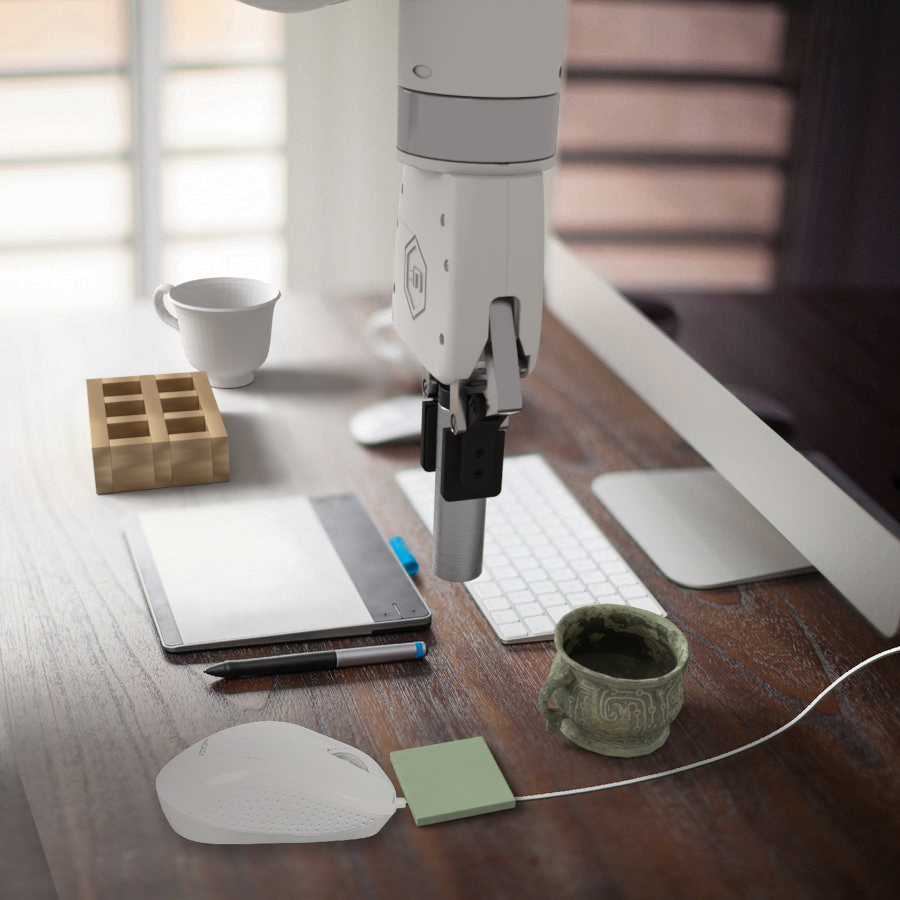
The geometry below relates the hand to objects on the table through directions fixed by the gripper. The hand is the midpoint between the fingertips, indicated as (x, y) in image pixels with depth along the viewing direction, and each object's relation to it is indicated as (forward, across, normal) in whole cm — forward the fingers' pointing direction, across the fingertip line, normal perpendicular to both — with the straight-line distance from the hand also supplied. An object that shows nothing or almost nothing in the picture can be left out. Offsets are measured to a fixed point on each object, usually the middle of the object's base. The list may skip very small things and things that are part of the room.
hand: (459, 479), depth 61 cm
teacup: (+20, -69, -5) cm, 72 cm away
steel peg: (+6, 0, 0) cm, 6 cm away
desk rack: (+20, -51, -13) cm, 56 cm away
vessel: (+20, -2, +12) cm, 24 cm away
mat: (+20, +1, 0) cm, 20 cm away
